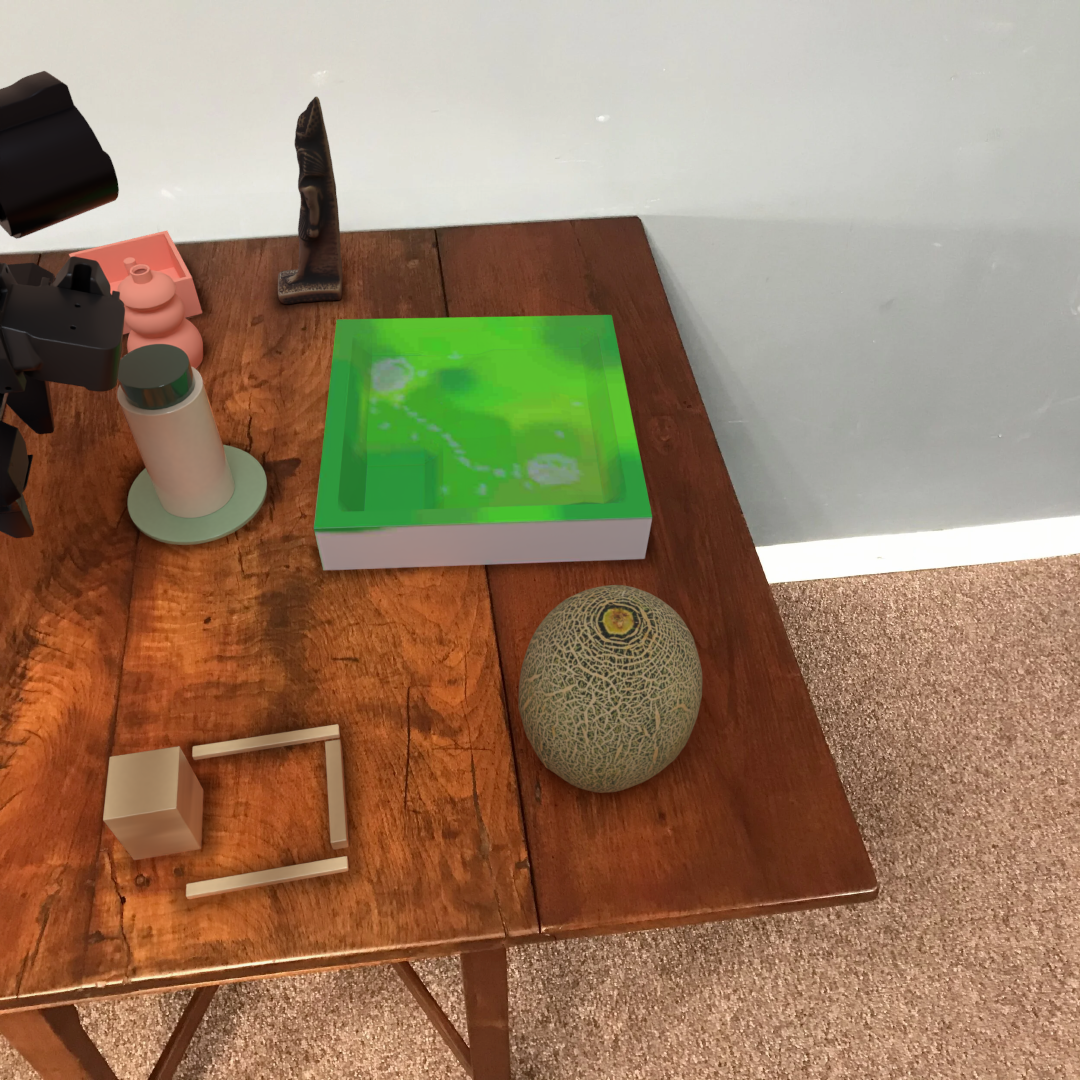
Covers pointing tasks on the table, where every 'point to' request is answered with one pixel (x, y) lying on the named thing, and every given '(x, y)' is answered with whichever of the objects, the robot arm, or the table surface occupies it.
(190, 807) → the jar stand
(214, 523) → the coaster
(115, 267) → the pottery
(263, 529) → the table surface
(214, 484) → the jar
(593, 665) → the fruit
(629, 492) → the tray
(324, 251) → the statue
